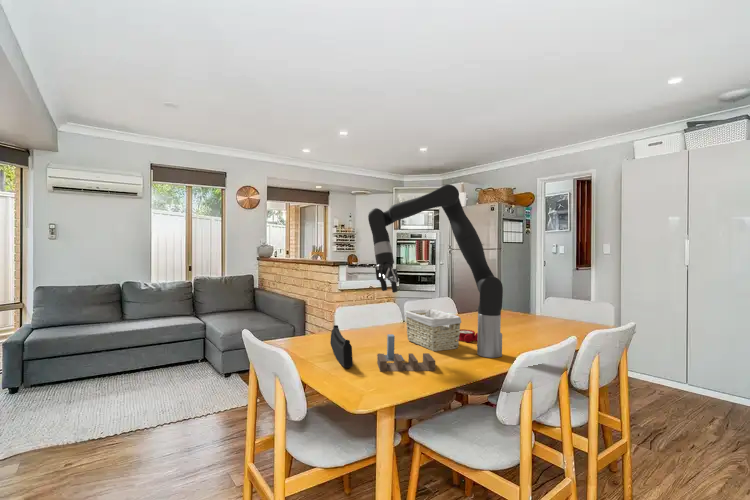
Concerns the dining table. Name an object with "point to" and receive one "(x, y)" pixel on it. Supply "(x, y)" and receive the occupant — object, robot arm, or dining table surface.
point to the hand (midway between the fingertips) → (390, 291)
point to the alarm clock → (467, 335)
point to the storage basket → (433, 329)
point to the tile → (390, 346)
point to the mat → (393, 359)
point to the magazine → (341, 348)
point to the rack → (412, 363)
